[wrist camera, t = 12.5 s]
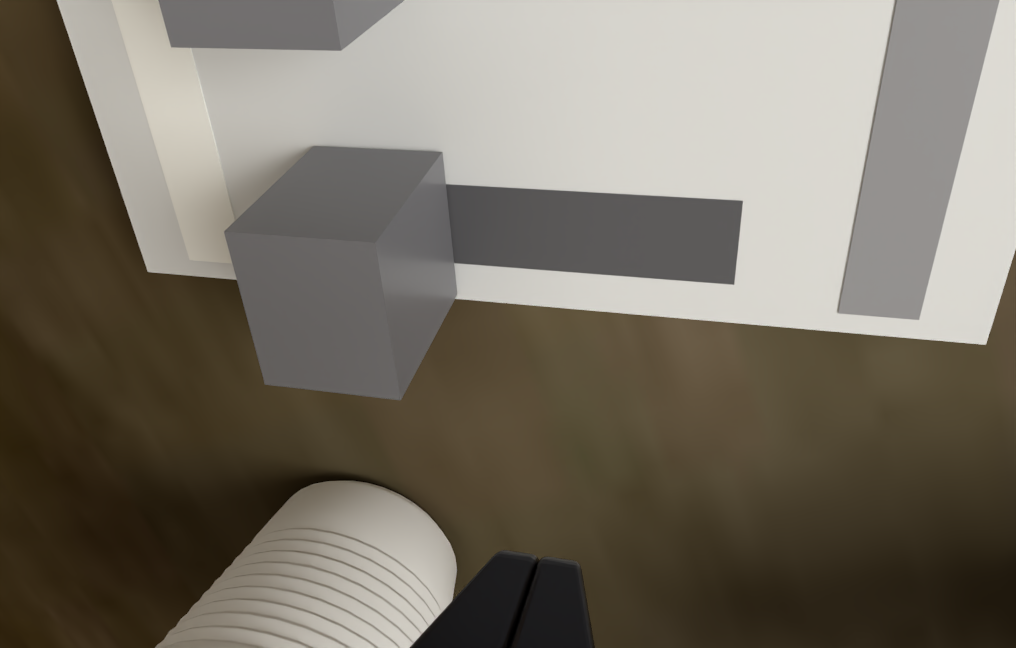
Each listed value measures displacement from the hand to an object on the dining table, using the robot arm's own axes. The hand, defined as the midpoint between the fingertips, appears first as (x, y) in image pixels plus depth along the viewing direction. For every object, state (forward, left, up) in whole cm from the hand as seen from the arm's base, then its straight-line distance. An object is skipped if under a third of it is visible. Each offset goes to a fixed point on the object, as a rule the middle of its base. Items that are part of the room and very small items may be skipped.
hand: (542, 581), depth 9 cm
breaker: (+6, +2, -11) cm, 13 cm away
